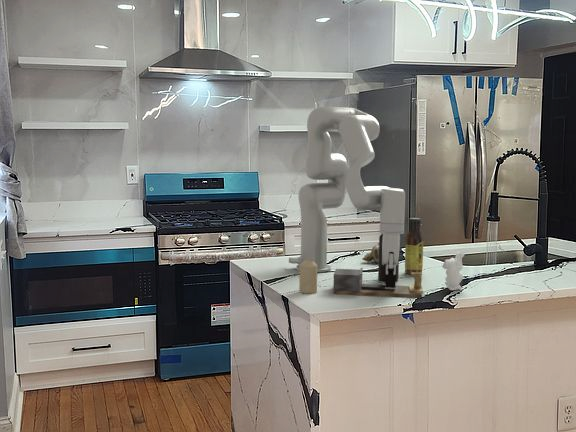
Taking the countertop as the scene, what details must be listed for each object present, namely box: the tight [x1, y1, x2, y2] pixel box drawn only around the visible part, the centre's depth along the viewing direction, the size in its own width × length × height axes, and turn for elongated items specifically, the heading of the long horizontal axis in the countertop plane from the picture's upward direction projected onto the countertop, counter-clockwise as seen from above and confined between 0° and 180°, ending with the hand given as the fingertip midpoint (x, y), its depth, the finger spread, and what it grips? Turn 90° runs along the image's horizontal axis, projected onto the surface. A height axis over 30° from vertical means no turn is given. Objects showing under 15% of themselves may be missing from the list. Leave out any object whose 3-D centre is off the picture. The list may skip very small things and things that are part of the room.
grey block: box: [361, 264, 396, 290], centre depth 212 cm, size 14×4×7 cm, turn 82°
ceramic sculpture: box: [362, 242, 379, 264], centre depth 261 cm, size 11×9×15 cm
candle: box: [298, 260, 318, 295], centre depth 211 cm, size 6×6×10 cm
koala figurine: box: [441, 251, 466, 291], centre depth 216 cm, size 8×7×12 cm
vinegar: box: [377, 233, 400, 282], centre depth 228 cm, size 7×7×20 cm
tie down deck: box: [332, 267, 424, 299], centre depth 212 cm, size 28×11×7 cm, turn 82°
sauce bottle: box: [404, 217, 424, 275], centre depth 240 cm, size 6×6×20 cm
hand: (390, 285), depth 211 cm, fingers closed on grey block, 4 cm apart
